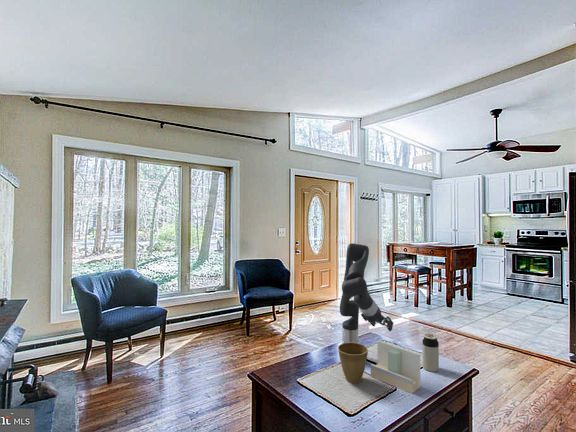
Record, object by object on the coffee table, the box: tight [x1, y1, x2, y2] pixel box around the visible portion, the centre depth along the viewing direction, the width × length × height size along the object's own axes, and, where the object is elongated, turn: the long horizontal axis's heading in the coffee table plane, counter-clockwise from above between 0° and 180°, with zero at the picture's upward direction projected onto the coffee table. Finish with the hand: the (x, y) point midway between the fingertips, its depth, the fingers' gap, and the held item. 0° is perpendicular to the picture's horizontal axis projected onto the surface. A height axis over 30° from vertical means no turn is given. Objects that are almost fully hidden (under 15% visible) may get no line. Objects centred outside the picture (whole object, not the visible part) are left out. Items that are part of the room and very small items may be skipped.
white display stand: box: [370, 340, 421, 394], centre depth 157 cm, size 9×22×16 cm, turn 44°
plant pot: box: [337, 342, 369, 384], centre depth 159 cm, size 15×15×16 cm
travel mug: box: [422, 332, 440, 373], centre depth 169 cm, size 8×8×18 cm
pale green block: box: [388, 349, 401, 374], centre depth 157 cm, size 4×4×11 cm
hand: (382, 327), depth 148 cm, fingers open, 8 cm apart
